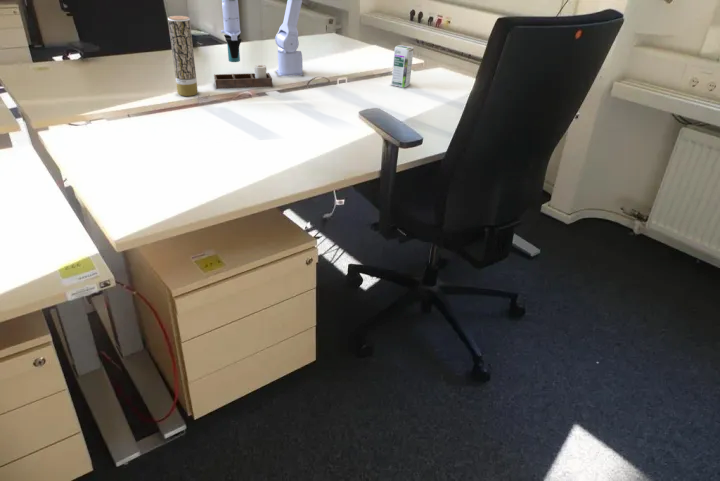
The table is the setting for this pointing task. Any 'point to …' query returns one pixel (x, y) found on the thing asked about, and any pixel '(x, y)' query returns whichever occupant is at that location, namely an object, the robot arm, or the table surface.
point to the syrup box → (402, 66)
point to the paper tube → (183, 55)
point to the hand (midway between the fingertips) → (234, 56)
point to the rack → (241, 81)
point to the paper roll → (231, 57)
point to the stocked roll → (260, 71)
